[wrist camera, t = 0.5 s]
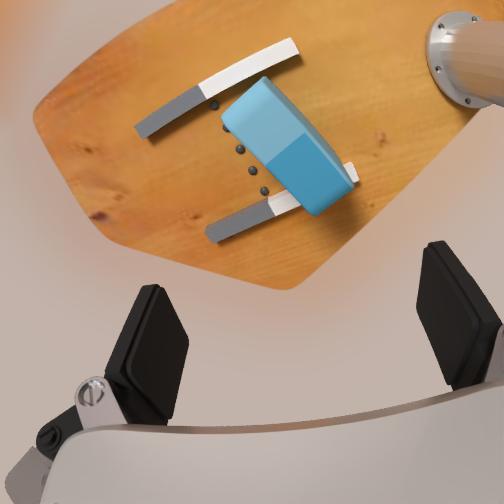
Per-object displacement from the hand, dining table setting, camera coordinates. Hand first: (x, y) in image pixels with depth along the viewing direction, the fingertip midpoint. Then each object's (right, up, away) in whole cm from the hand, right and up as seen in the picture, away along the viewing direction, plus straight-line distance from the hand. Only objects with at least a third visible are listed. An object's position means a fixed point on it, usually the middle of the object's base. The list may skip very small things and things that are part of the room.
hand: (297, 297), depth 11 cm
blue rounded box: (+2, +16, +23) cm, 28 cm away
